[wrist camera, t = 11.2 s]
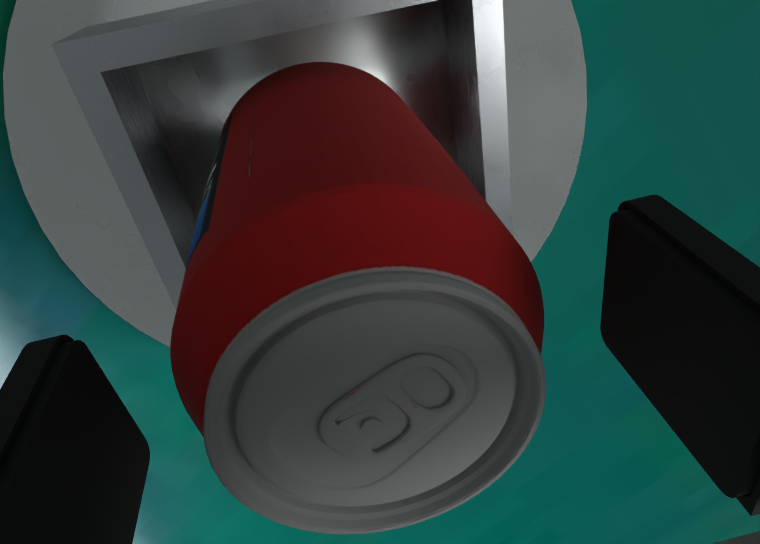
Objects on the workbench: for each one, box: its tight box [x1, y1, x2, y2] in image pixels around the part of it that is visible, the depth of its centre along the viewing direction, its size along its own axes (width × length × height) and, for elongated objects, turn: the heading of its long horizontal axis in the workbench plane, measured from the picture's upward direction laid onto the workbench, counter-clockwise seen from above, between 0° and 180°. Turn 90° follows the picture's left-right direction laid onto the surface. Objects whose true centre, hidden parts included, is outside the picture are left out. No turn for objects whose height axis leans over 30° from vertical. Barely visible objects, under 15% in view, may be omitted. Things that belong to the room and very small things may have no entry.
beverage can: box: [170, 62, 546, 534], centre depth 14 cm, size 7×7×12 cm
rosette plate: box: [3, 0, 587, 347], centre depth 18 cm, size 19×19×4 cm
